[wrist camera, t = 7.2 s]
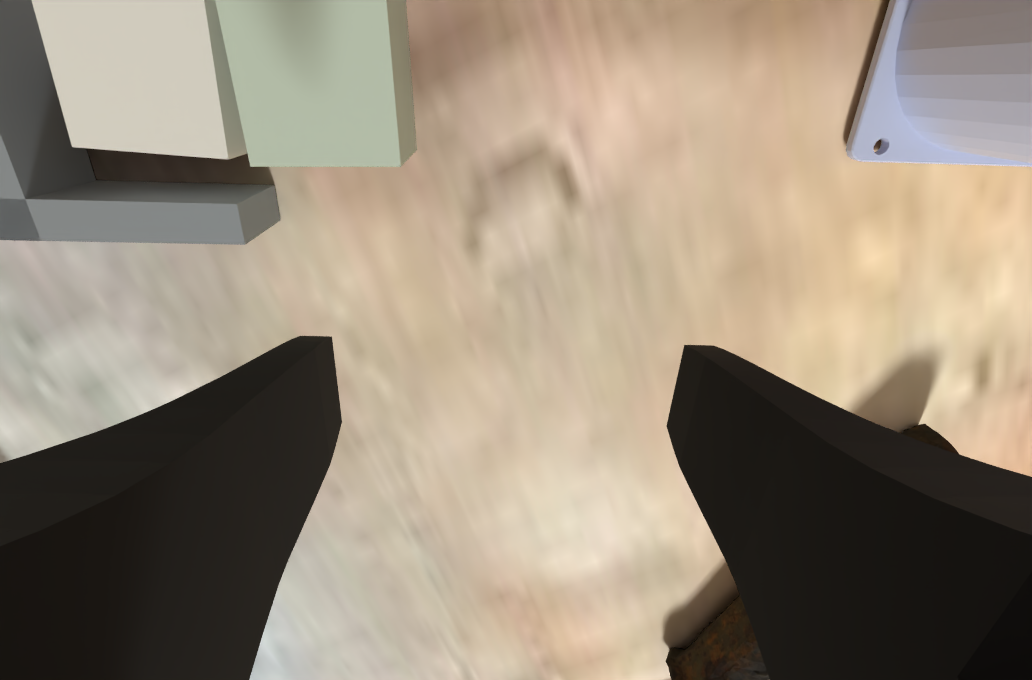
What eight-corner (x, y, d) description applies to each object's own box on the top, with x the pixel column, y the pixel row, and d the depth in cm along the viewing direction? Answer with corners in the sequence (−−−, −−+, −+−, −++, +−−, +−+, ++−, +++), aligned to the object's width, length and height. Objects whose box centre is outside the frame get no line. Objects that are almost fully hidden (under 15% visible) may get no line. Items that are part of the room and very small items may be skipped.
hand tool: (709, 663, 32) (744, 751, 28) (656, 647, 31) (684, 736, 27) (952, 437, 25) (1047, 509, 21) (894, 406, 24) (982, 475, 20)
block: (259, 2, 16) (201, -17, 12) (275, 144, 17) (228, 159, 14) (117, -12, 15) (21, -36, 12) (148, 134, 17) (72, 147, 14)
